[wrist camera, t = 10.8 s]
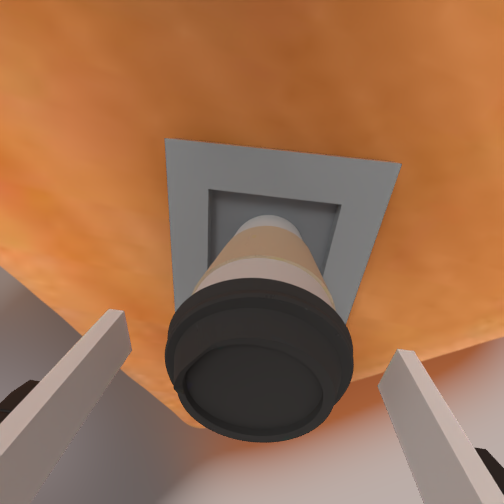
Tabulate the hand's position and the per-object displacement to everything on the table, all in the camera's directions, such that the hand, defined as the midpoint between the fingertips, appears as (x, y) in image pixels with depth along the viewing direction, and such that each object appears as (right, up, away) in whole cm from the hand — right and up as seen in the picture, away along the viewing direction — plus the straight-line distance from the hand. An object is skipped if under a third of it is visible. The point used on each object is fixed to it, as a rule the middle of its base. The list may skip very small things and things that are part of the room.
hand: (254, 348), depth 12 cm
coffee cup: (+1, +5, +11) cm, 13 cm away
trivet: (+1, +5, +12) cm, 13 cm away
